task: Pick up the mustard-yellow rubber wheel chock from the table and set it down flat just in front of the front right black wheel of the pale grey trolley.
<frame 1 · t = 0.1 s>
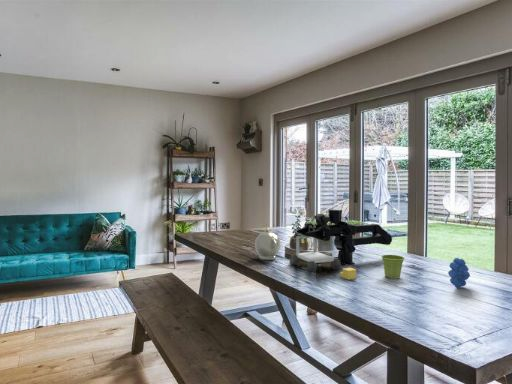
hand: (301, 232, 174), 17 cm above the table, tool horizontal, fingers open, 8 cm apart
grapes: (460, 289, 142), on the table
plant pot: (392, 277, 160), on the table
teapot: (268, 259, 195), on the table
wheel chock: (347, 277, 159), on the table
trolley: (314, 266, 178), on the table
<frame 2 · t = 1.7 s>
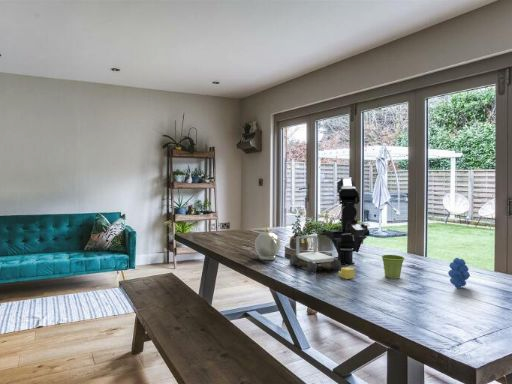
hand: (348, 253, 159), 10 cm above the table, tool pointing down, fingers open, 9 cm apart
wheel chock: (346, 277, 160), on the table
everything else where it was.
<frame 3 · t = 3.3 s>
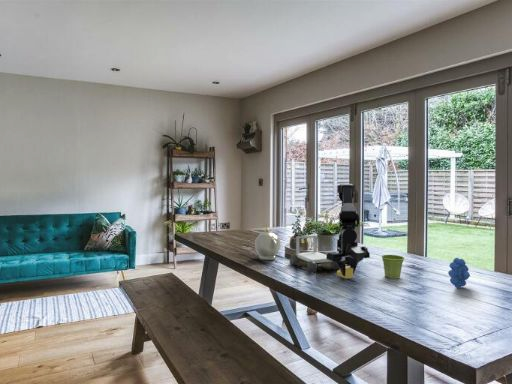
hand: (348, 275, 159), 1 cm above the table, tool pointing down, fingers closed on wheel chock, 4 cm apart
wheel chock: (345, 276, 161), on the table, touching gripper
everything else where it was.
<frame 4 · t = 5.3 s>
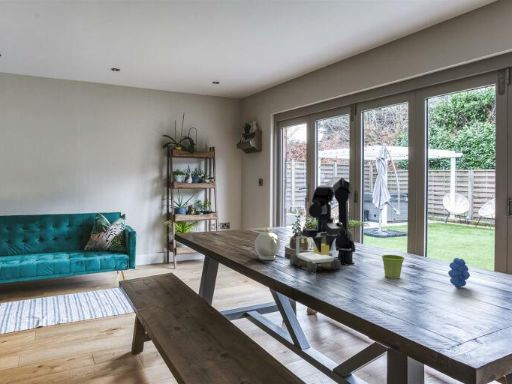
hand: (324, 251, 159), 11 cm above the table, tool pointing down, fingers closed on wheel chock, 4 cm apart
wheel chock: (321, 253, 161), point 10 cm above the table, touching gripper
everything else where it was.
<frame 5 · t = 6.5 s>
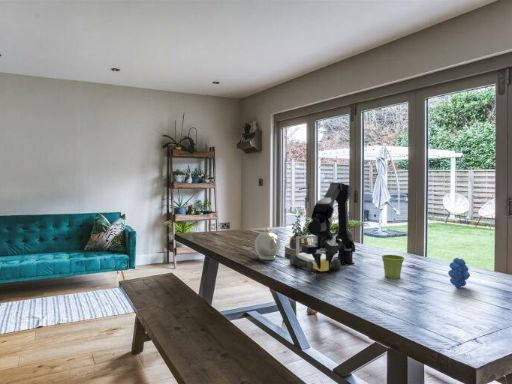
hand: (323, 268, 159), 4 cm above the table, tool pointing down, fingers closed on wheel chock, 4 cm apart
wheel chock: (320, 269, 162), point 3 cm above the table, touching gripper
everything else where it was.
when the fingers open (2 cm above the table, at t = 7.2 s): wheel chock drops 2 cm, on the table.
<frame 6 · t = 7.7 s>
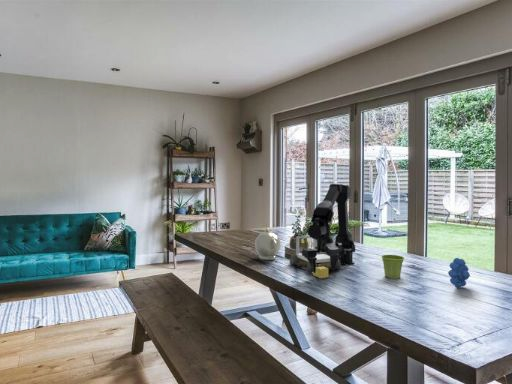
hand: (323, 271, 159), 2 cm above the table, tool pointing down, fingers open, 9 cm apart
wheel chock: (320, 276, 162), on the table
everything else where it was.
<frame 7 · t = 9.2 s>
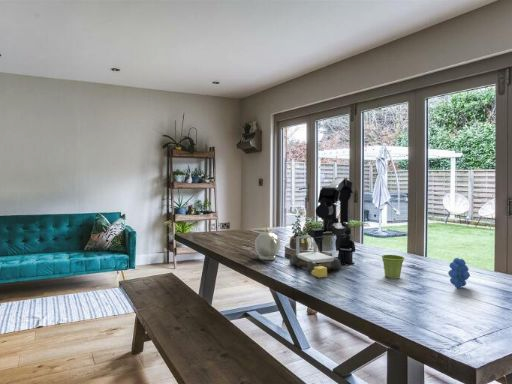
hand: (329, 251, 162), 11 cm above the table, tool pointing down, fingers open, 9 cm apart
wheel chock: (319, 275, 163), on the table
everything else where it was.
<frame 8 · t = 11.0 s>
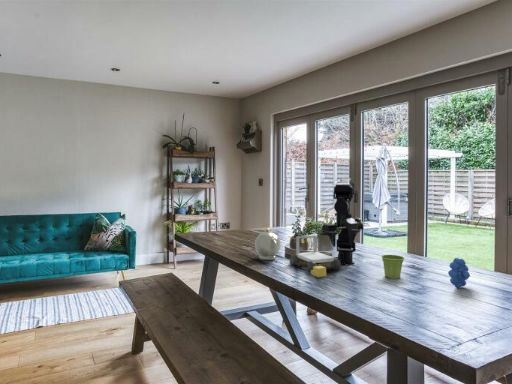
hand: (342, 246, 167), 12 cm above the table, tool pointing down, fingers open, 9 cm apart
nothing on the table moved.
at the end: wheel chock 2.3 cm from the target spot on the table beside the trolley, on the table; wheel chock tilted 0°; the gripper is holding nothing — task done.
